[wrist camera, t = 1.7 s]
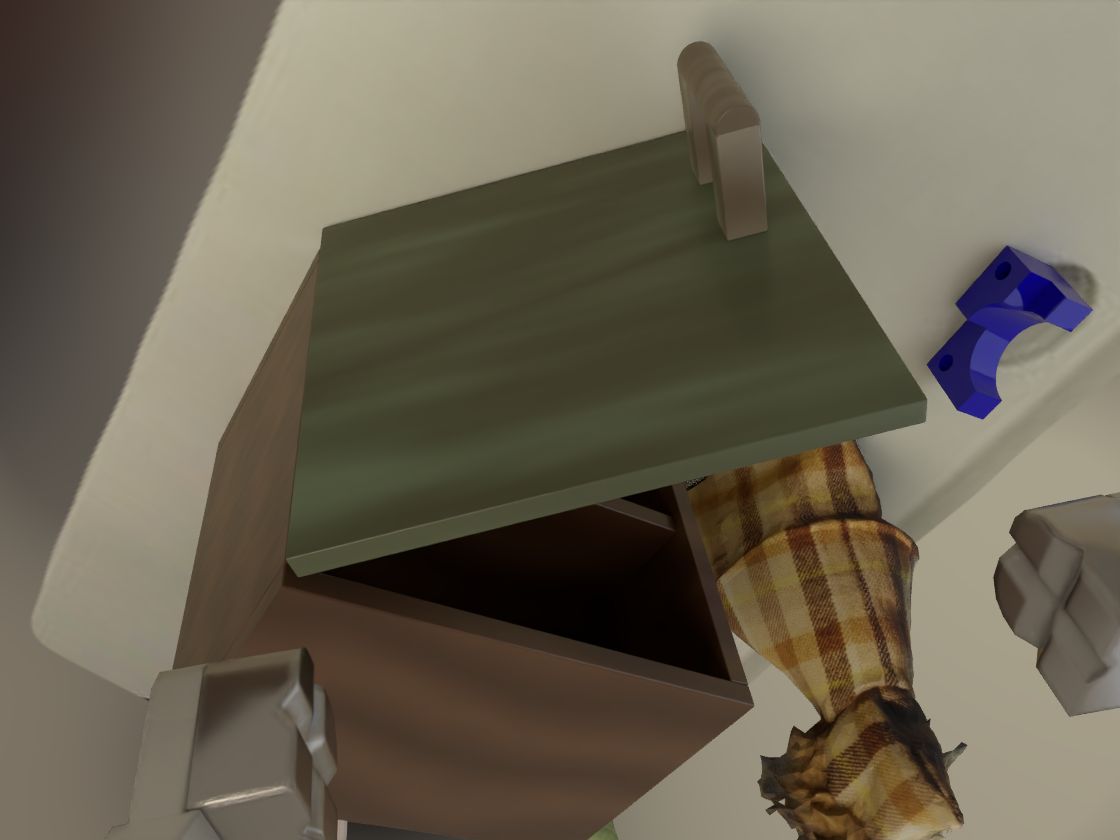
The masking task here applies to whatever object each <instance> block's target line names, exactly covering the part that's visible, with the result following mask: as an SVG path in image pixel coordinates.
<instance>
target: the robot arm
mask: <svg viewBox="0 0 1120 840" xmlns="http://www.w3.org/2000/svg"><path fill="white" fill-rule="evenodd" d="M1009 533H1010V534H1011V536H1012V537H1013V539H1014V540H1015V542H1016V544H1014V546H1012V547H1011V548H1010V549H1009V550H1008V551H1006V552H1005V554H1003V555H1002V556H1001V557H1000V558H999V561H998V564H997V567H996V570H995V574H994V586H995V594H996V600H997V602H998V605H999V607H1000V610H1001V612H1002V615H1003V617H1004V618H1005V620H1006V622H1007V623H1008V625H1009V626H1010V628H1011V629H1012V631H1013V632H1014V634H1015V635H1017V636H1018V637H1020V638H1021V639H1023V640H1025V641H1027V642H1028V643H1030V644H1032V645H1033V646H1035V647H1037V648H1038V654H1037V663H1036V668H1037V669H1038V670H1039V672H1040V674H1041V675H1042V676H1043V678H1044V680H1045V681H1046V683H1047V684H1048V686H1049V687H1050V689H1051V690H1052V692H1053V693H1054V695H1055V696H1056V697H1057V699H1058V700H1059V702H1060V703H1061V705H1062V706H1063V708H1064V709H1065V711H1066V712H1067V714H1068V715H1069V716H1075V715H1081V714H1087V713H1093V712H1098V711H1104V710H1109V709H1114V708H1120V492H1119V493H1115V494H1109V495H1105V496H1104V495H1097V496H1092V497H1087V498H1082V499H1078V500H1072V501H1067V502H1063V503H1058V504H1053V505H1048V506H1043V507H1038V508H1033V509H1029V510H1024V511H1023V512H1022V513H1020V514H1019V515H1018V516H1017V517H1015V519H1014V521H1013V524H1012V526H1011V529H1010V532H1009ZM336 772H337V740H336V732H335V723H334V716H333V712H332V709H331V705H330V701H329V698H328V696H327V693H326V691H325V688H324V687H322V686H320V685H318V684H316V683H314V663H313V661H312V659H311V657H310V654H309V652H308V650H307V648H306V647H304V648H298V649H292V650H286V651H280V652H274V653H268V654H262V655H256V656H250V657H244V658H238V659H232V660H226V661H220V662H214V663H207V664H202V665H196V666H191V667H185V668H180V669H174V670H169V671H164V672H160V673H159V675H158V677H157V679H156V681H155V683H154V685H153V687H152V688H151V694H150V699H149V705H148V711H147V717H146V722H145V728H144V733H143V739H142V745H141V750H140V756H139V762H138V768H137V774H136V779H135V785H134V790H133V796H132V801H131V807H130V813H129V818H128V823H127V824H123V825H119V826H114V827H112V829H111V830H110V831H109V832H108V834H107V836H105V838H104V839H103V840H337V808H336V805H335V803H334V801H333V799H332V797H331V795H330V793H329V790H328V788H327V785H328V784H329V782H330V781H331V779H332V778H333V776H334V775H335V773H336Z"/></svg>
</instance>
